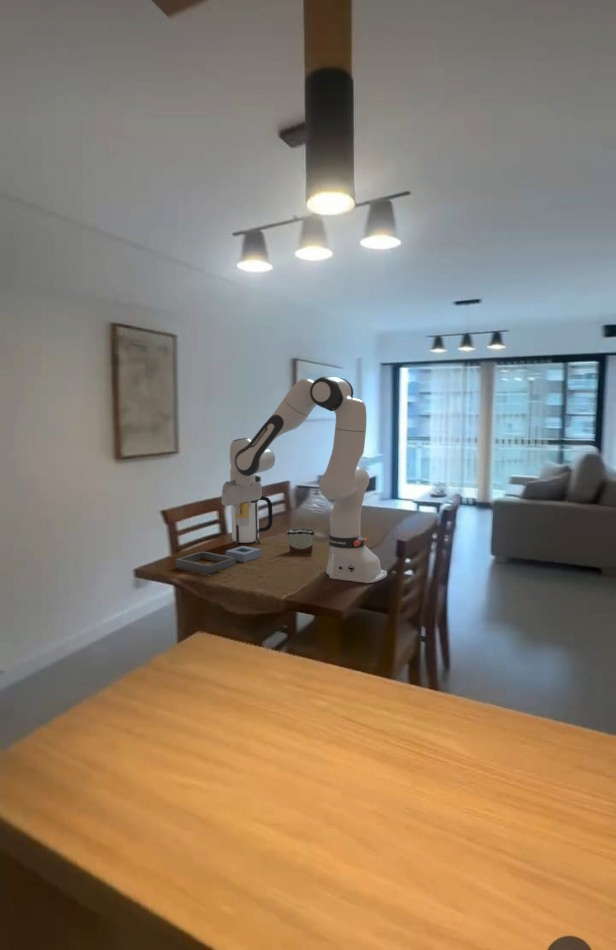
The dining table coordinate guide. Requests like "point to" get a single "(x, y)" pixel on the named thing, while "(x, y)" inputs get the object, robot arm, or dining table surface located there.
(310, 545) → the food container
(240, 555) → the socket block
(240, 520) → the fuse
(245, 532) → the coffee press
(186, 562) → the parts tray
